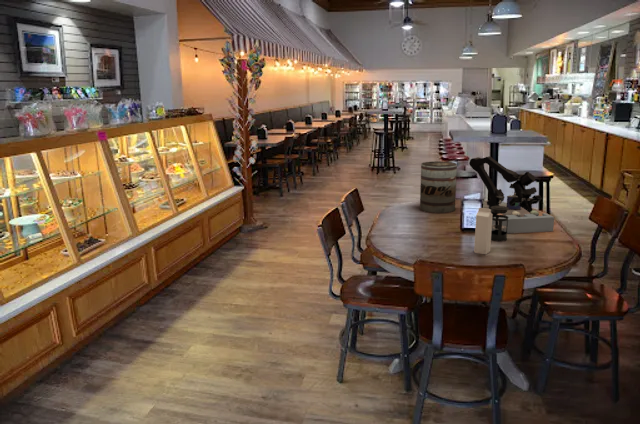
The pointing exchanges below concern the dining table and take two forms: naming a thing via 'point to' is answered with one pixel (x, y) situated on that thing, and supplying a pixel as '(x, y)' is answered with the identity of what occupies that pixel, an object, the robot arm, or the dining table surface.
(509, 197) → the flask
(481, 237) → the milk
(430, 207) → the barrel
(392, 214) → the dining table surface
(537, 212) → the pale green rounded cylinder
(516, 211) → the cream button
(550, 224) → the block
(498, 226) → the french press
